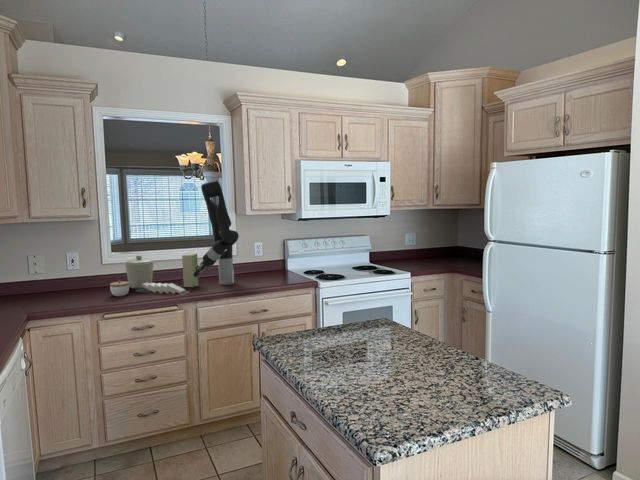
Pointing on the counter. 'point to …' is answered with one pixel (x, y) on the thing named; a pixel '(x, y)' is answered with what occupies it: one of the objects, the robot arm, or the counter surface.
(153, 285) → the domino
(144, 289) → the domino
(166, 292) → the domino
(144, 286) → the domino
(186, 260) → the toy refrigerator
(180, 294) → the runner
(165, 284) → the domino
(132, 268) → the canister
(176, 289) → the domino
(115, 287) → the lidded jar
